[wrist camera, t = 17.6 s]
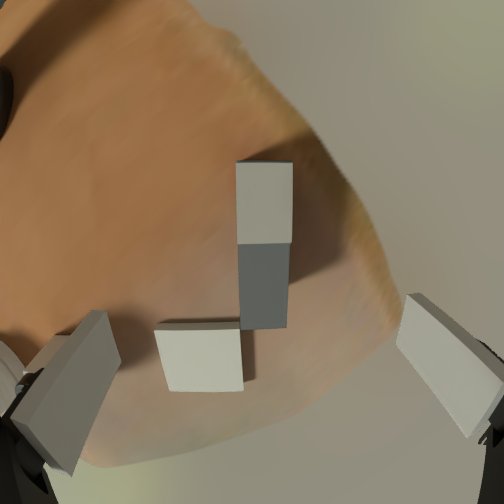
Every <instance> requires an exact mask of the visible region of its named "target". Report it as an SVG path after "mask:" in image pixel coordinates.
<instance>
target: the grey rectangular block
mask: <svg viewBox="0 0 504 504" xmlns="http://www.w3.org/2000/svg"><path fill="white" fill-rule="evenodd" d="M236 203H237V244H238V270H239V302H240V328H241V330H257V329H277V328H286V325H287V306H288V283H289V255H290V243H292V207H293V163H291V161H290V160H236Z"/></svg>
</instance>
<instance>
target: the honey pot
mask: <svg viewBox="0 0 504 504" xmlns="http://www.w3.org/2000/svg"><path fill="white" fill-rule="evenodd" d="M24 369H25V367H24V366H23V364H22V362H21V361H20V360H19V358H18V357H17V356H16V355H15V353H14V352H13V351H12V350H11V349H10V348H9V347H8V346H7V345H6V344H5V343H3V342H2V341H0V414H2V413H5V412H6V410H7V409H8V408H9V406H10V405H11V403H12V402H13V400H14V399H15V397H16V394H15V386H16V385H17V383H18V382H19V381H20V380H21V378H22V377H23V376H24V374H23V370H24Z"/></svg>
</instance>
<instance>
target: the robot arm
mask: <svg viewBox="0 0 504 504" xmlns="http://www.w3.org/2000/svg"><path fill="white" fill-rule="evenodd" d="M5 1H6V0H0V9H1V8H2V7H3V5H4V3H5ZM12 97H13V81H12V76H11V73H10V72H9V70H8V69H7V68H5V67H3V66H0V138H1V135H2V133H3V131H4V128H5V126H6V123H7V120H8V116H9V113H10V109H11V104H12ZM396 346H397V347H398V348H399V349H400V351H401V352H402V353H403V354H404V356H405V357H406V358H407V359H408V361H409V362H410V363H411V364H412V366H413V367H414V368H415V369H416V371H417V372H418V373H419V374H420V376H421V377H422V378H423V380H424V381H425V382H426V383H427V385H428V386H429V387H430V389H431V390H432V391H433V393H434V394H435V395H436V397H437V398H438V399H439V401H440V402H441V403H442V405H443V406H444V407H445V409H446V410H447V411H448V413H449V414H450V416H451V417H452V418H453V420H454V421H455V422H456V424H457V425H458V427H459V428H460V430H461V431H462V432H463V434H464V435H465V436H466V438H467V439H468V438H469V437H471V436H472V435H474V434H476V433H478V432H479V431H480V430H481V429H482V428H483V426H484V425H485V423H486V422H487V421H488V420H489V421H490V423H491V425H490V426H489V428H488V429H487V430H486V432H485V433H484V434H483V436H482V437H481V438H480V439H479V442H478V444H481V443H482V441H483V440H484V439H485V437H487V440H486V441H485V442H484V444H483V445H486V455H485V464H484V471H483V478H482V484H481V489H480V494H479V499H478V503H477V504H504V361H503V360H502V359H501V358H500V357H498V356H497V354H496V353H495V352H494V351H492V350H491V349H490V348H489V347H488V346H487V345H486V344H485V343H483V342H481V341H479V340H477V339H475V338H474V337H473V336H472V335H471V334H470V333H469V332H467V331H466V330H465V329H464V328H463V327H462V326H460V325H459V324H458V323H457V322H456V321H454V320H453V319H452V318H451V317H449V316H448V315H447V314H446V313H445V312H443V311H442V310H441V309H439V307H437V306H436V305H435V304H433V303H432V302H431V301H430V300H429V299H427V298H426V297H425V296H423V295H422V294H421V293H414V294H407V298H406V303H405V308H404V312H403V317H402V321H401V325H400V329H399V333H398V337H397V341H396ZM121 362H122V361H121V358H120V355H119V352H118V349H117V346H116V343H115V340H114V336H113V333H112V330H111V326H110V323H109V319H108V315H107V311H104V310H91V311H90V313H89V314H88V315H87V316H86V317H85V318H84V320H83V321H82V322H81V323H80V324H79V325H78V327H77V328H76V329H75V330H74V332H73V333H72V334H71V335H70V336H69V338H68V339H67V340H66V341H65V343H64V344H63V345H62V346H61V348H60V349H59V350H58V351H57V353H56V354H55V355H54V357H53V358H52V359H51V360H50V362H49V363H48V364H47V366H46V367H45V368H41V369H39V370H38V371H37V372H35V373H34V374H32V376H31V377H30V378H29V380H28V381H27V382H26V386H25V385H24V386H23V388H22V389H21V392H19V393H18V395H17V396H16V397H15V399H14V400H13V402H12V403H11V405H10V406H9V408H8V409H7V410H6V412H5V413H4V415H3V416H2V418H1V417H0V504H58V501H57V499H56V497H55V494H54V491H53V489H52V486H51V483H50V481H49V478H48V475H47V473H46V471H45V469H44V468H43V465H44V463H45V462H46V463H47V464H48V465H49V466H50V467H51V468H52V469H53V470H54V471H56V472H59V473H61V474H64V475H67V476H70V477H72V475H73V472H74V469H75V466H76V464H77V461H78V459H79V456H80V454H81V451H82V449H83V446H84V444H85V441H86V439H87V437H88V434H89V432H90V429H91V427H92V425H93V422H94V420H95V418H96V416H97V413H98V411H99V409H100V407H101V404H102V402H103V400H104V398H105V396H106V393H107V391H108V389H109V387H110V385H111V383H112V381H113V379H114V376H115V374H116V372H117V370H118V368H119V366H120V364H121Z"/></svg>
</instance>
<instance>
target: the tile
mask: <svg viewBox="0 0 504 504" xmlns="http://www.w3.org/2000/svg"><path fill="white" fill-rule="evenodd" d="M154 333H155V338H156V342H157V346H158V350H159V354H160V358H161V362H162V366H163V369H164V373H165V377H166V380H167V384H168V387H169V390H170V391H184V392H230V391H244V384H243V370H242V355H241V340H240V325H239V321H237V322H210V323H157V325H156V327H155V329H154Z"/></svg>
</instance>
